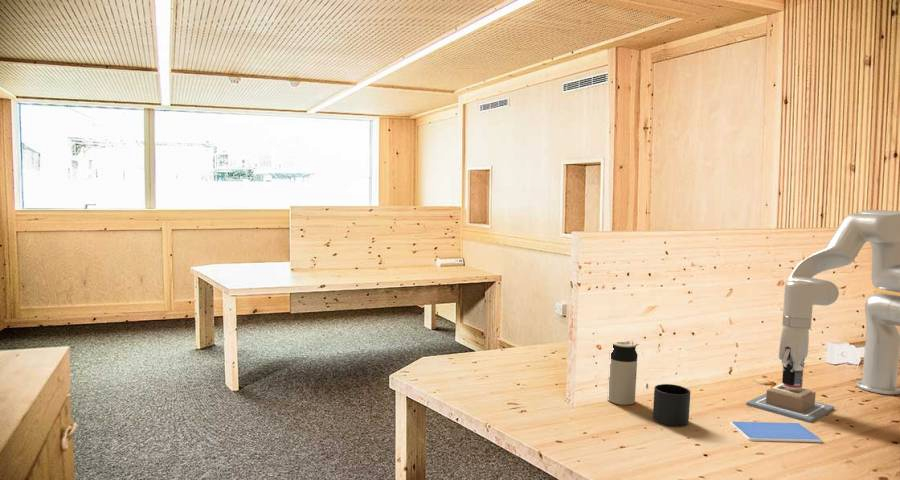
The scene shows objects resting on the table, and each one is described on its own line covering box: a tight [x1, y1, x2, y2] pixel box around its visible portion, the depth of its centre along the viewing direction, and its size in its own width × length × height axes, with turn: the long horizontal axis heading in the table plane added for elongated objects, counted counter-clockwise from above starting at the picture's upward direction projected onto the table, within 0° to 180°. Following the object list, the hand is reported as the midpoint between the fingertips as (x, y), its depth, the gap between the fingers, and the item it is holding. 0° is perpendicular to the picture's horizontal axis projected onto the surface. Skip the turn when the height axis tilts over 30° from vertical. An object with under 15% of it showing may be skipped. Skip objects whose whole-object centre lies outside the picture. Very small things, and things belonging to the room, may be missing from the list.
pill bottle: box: [781, 359, 804, 390], centre depth 195 cm, size 5×5×9 cm
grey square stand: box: [745, 383, 835, 423], centre depth 196 cm, size 18×18×6 cm
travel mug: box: [607, 340, 638, 406], centre depth 196 cm, size 8×8×18 cm
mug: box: [652, 383, 691, 428], centre depth 183 cm, size 9×12×9 cm
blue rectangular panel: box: [729, 421, 823, 444], centre depth 175 cm, size 19×13×1 cm, turn 90°
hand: (792, 381), depth 195 cm, fingers closed on pill bottle, 5 cm apart
